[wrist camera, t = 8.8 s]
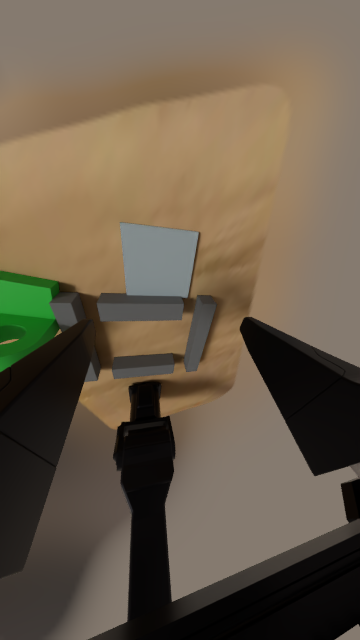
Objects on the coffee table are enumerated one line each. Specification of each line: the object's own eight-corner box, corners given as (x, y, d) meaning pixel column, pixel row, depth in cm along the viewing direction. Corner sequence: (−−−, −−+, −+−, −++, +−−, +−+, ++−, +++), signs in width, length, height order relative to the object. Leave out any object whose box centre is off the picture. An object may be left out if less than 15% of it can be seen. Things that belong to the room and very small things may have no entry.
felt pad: (186, 296, 21) (187, 298, 21) (127, 295, 19) (126, 297, 19) (197, 231, 17) (198, 232, 16) (120, 222, 15) (120, 222, 14)
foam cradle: (193, 360, 30) (196, 370, 28) (88, 368, 26) (83, 381, 24) (210, 295, 22) (217, 304, 20) (59, 292, 18) (48, 303, 16)
